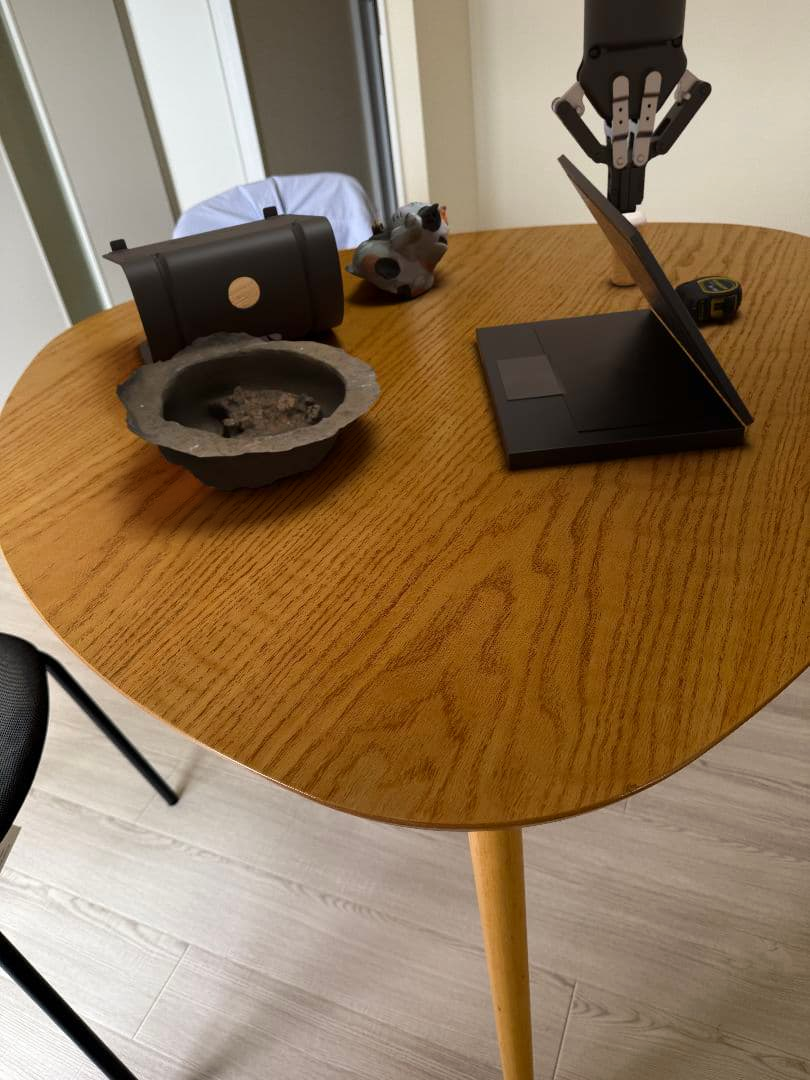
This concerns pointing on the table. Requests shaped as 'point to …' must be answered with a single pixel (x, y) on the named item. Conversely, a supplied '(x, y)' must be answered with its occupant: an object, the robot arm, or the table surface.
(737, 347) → the table surface
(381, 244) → the lucky cat figurine
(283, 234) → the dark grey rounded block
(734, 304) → the tape measure
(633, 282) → the milkshake
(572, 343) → the laptop
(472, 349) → the table surface
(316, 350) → the stone bowl
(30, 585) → the table surface
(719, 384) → the laptop screen
